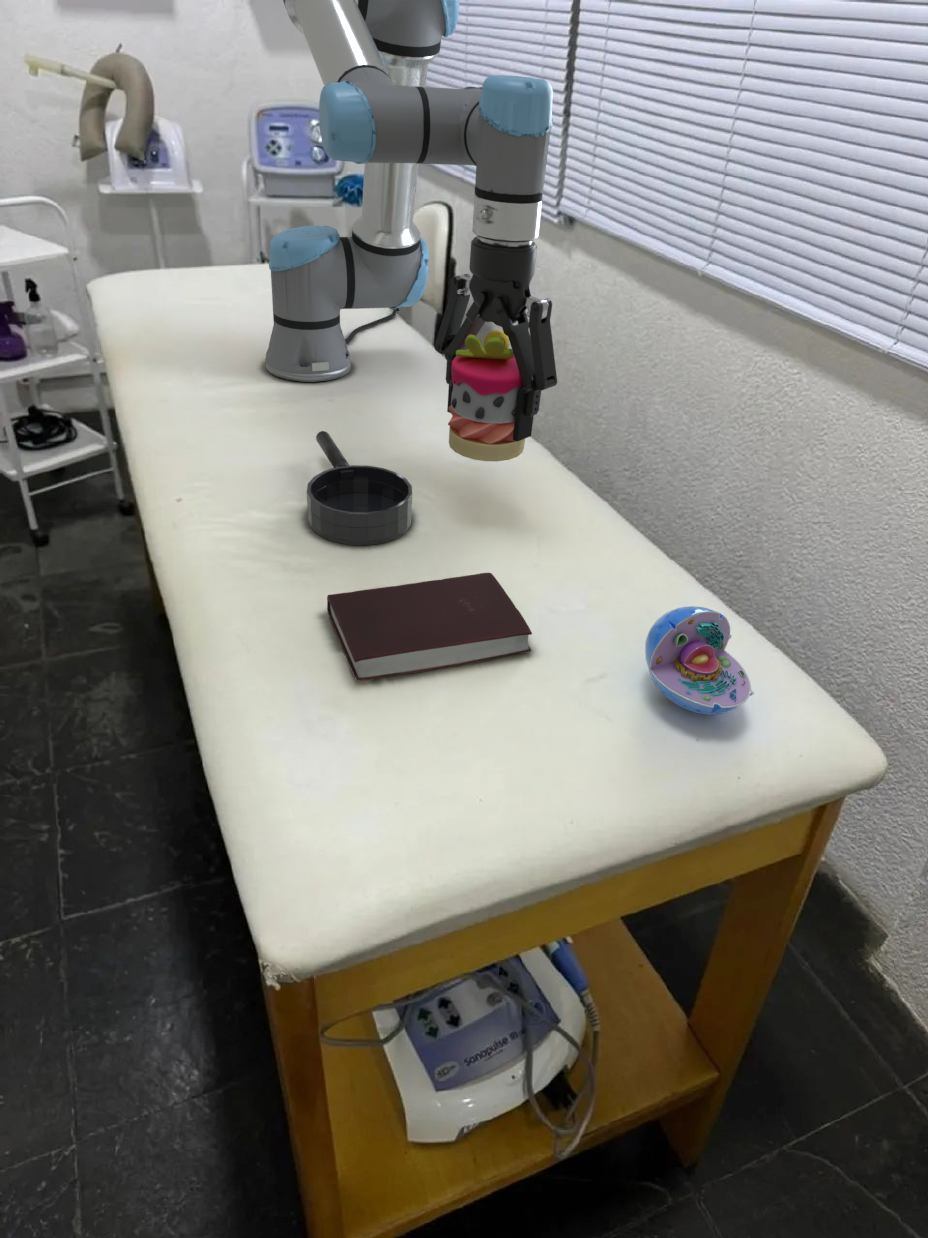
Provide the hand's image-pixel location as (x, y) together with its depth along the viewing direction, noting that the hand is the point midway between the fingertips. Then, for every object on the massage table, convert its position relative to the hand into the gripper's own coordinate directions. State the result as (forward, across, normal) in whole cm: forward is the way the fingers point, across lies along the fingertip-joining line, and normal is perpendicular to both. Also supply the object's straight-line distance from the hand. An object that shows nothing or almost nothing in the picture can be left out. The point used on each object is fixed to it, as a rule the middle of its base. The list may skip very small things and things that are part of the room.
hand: (488, 423), depth 109 cm
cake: (+3, 0, 0) cm, 3 cm away
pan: (+12, -9, -14) cm, 21 cm away
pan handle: (+10, -20, -9) cm, 24 cm away
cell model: (+13, +40, -13) cm, 44 cm away
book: (+13, +15, -25) cm, 32 cm away
